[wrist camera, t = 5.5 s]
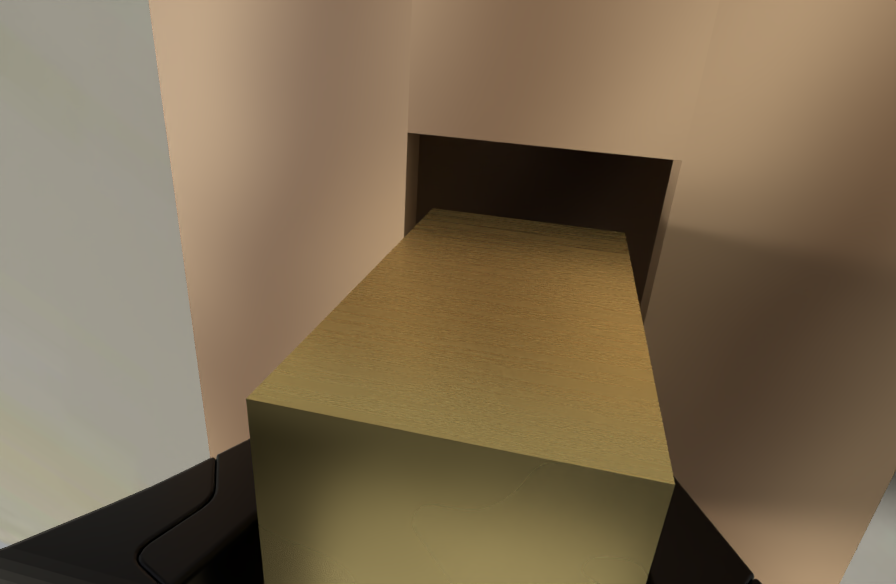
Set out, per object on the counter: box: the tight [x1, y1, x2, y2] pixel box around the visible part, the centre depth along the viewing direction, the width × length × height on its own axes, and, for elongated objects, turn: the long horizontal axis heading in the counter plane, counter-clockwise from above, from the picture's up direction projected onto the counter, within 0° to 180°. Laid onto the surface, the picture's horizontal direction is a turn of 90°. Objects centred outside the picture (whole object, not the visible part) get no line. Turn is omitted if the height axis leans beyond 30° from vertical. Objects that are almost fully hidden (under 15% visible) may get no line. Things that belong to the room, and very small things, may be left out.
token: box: [246, 208, 675, 584], centre depth 8 cm, size 3×6×6 cm, turn 176°
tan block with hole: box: [149, 0, 896, 584], centre depth 14 cm, size 14×14×7 cm
